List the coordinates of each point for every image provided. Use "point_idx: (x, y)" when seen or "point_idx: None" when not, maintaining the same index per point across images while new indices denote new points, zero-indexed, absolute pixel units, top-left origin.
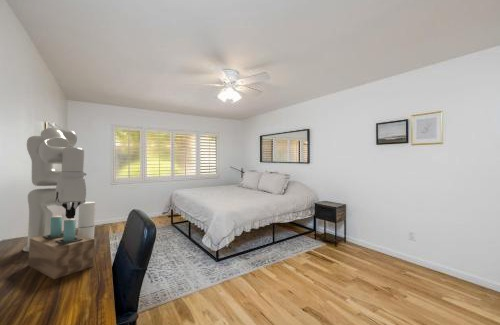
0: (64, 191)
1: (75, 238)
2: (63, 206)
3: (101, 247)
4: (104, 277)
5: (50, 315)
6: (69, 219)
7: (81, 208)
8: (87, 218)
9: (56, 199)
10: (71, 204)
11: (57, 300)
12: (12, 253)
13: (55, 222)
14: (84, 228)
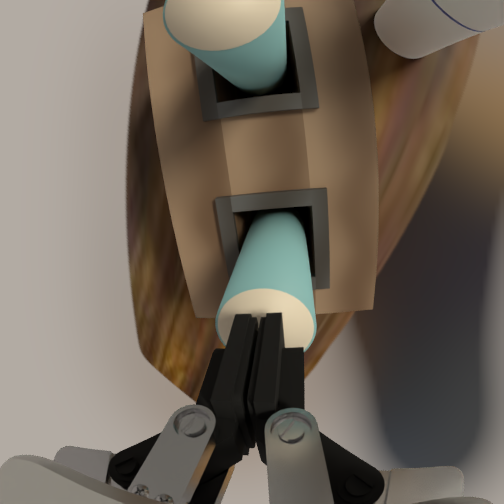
0: None
1: (313, 238)
2: (149, 451)
3: (455, 64)
4: (319, 346)
5: (193, 390)
6: (265, 315)
7: None
8: (490, 5)
9: (6, 472)
10: (267, 469)
11: (208, 363)
12: None
13: (211, 65)
14: (441, 15)
